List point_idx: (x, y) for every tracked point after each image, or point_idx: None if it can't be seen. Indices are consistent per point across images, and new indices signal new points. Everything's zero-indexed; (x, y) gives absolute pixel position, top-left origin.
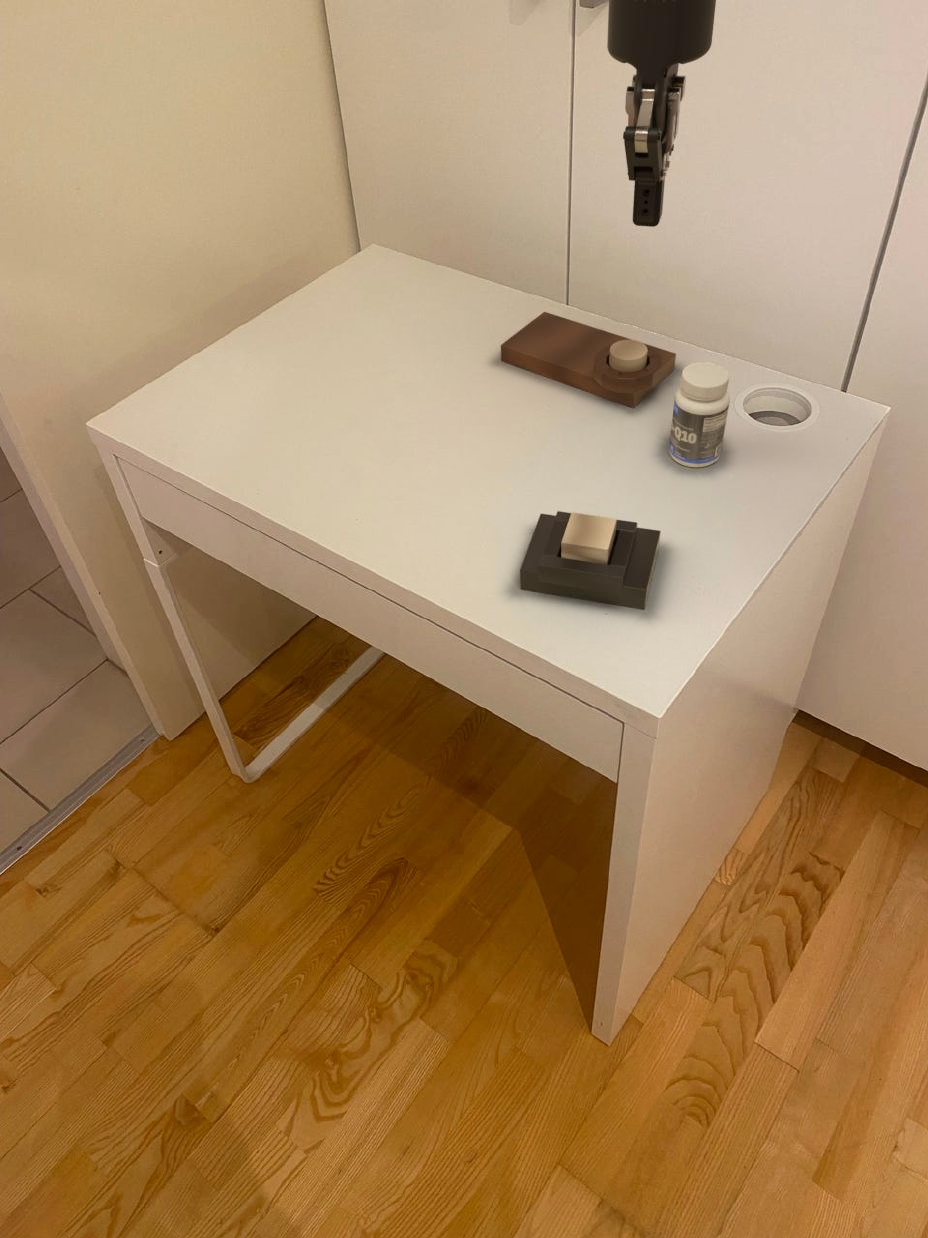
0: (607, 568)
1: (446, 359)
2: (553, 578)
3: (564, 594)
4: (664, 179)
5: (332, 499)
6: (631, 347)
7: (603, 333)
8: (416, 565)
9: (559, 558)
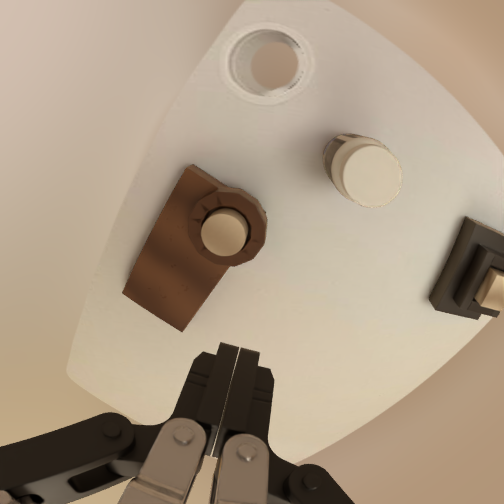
0: None
1: (188, 357)
2: None
3: None
4: (205, 411)
5: (356, 407)
6: (218, 232)
7: (151, 242)
8: (430, 364)
9: None
